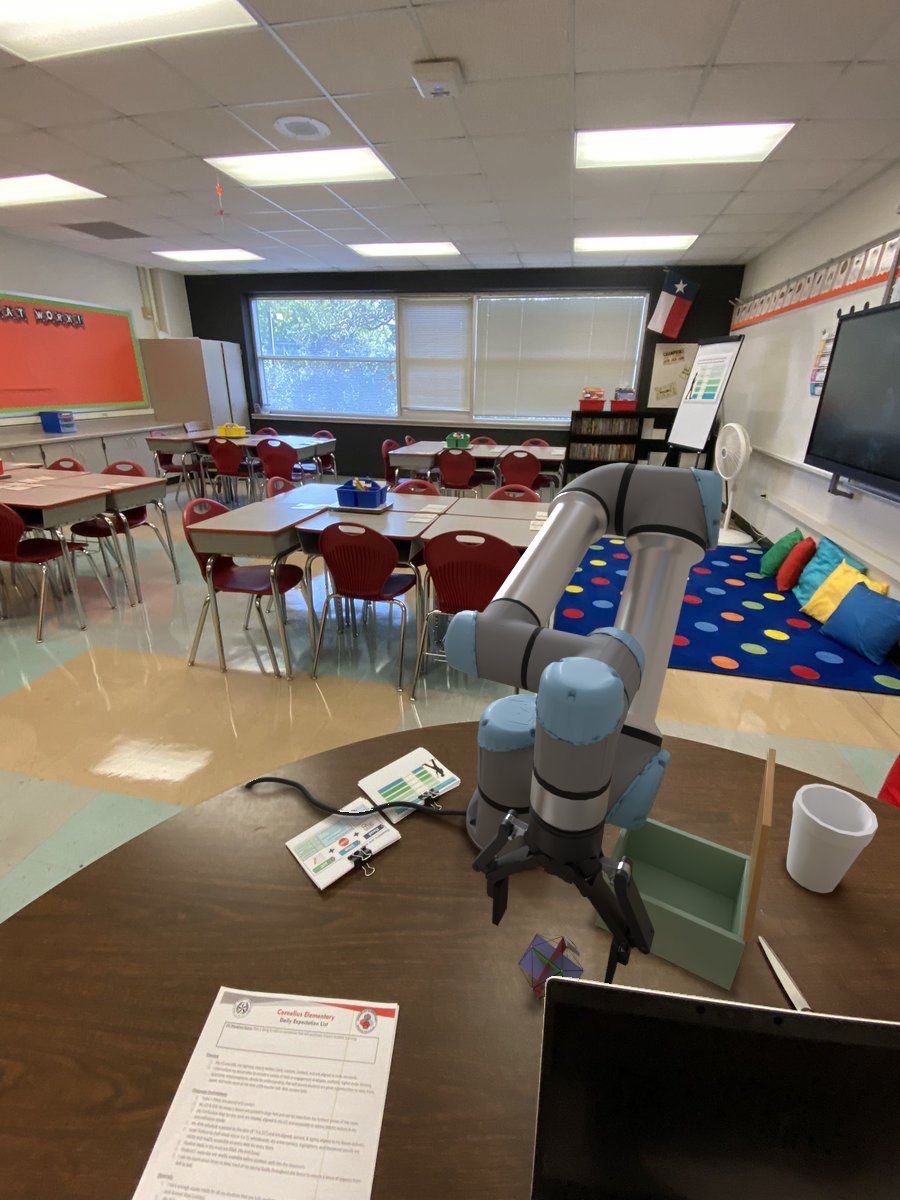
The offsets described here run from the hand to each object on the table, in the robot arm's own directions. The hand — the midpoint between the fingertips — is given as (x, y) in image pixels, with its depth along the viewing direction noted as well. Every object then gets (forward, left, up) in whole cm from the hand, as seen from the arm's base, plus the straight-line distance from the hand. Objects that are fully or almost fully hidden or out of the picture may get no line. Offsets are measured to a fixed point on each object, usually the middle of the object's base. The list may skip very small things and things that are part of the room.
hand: (552, 943), depth 63 cm
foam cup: (+28, +34, -8) cm, 45 cm away
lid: (+18, +17, +10) cm, 27 cm away
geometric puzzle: (0, 0, -8) cm, 8 cm away
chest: (+11, +17, -8) cm, 22 cm away
